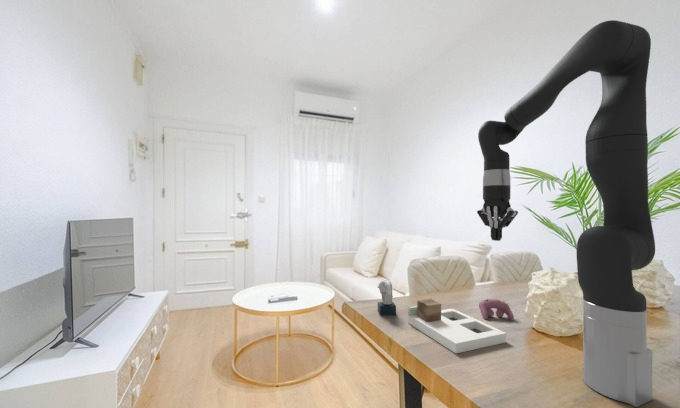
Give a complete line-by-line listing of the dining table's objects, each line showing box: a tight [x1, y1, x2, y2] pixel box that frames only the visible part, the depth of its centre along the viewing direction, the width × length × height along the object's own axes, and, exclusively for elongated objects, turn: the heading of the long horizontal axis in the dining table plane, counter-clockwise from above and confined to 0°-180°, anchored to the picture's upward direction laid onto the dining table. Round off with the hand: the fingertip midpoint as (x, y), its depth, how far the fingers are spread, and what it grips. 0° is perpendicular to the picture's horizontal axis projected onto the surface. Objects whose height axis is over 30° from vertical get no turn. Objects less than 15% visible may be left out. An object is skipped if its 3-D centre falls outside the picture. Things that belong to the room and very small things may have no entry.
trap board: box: [407, 305, 507, 354], centre depth 82 cm, size 20×18×5 cm
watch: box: [377, 280, 397, 316], centre depth 97 cm, size 6×8×11 cm
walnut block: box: [416, 298, 442, 322], centre depth 86 cm, size 5×5×5 cm
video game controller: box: [478, 298, 515, 322], centre depth 94 cm, size 10×5×7 cm, turn 85°
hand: (496, 240), depth 86 cm, fingers closed
